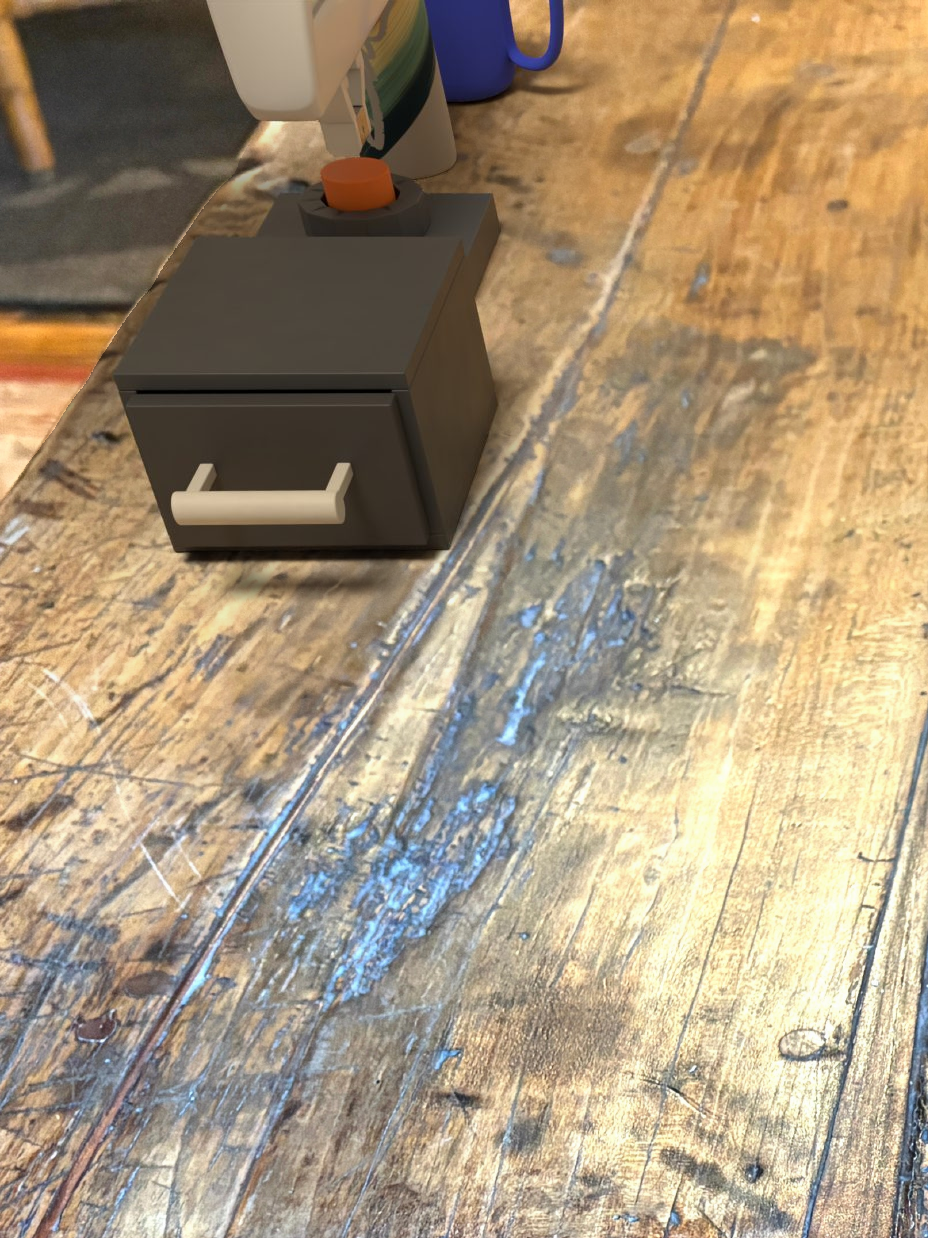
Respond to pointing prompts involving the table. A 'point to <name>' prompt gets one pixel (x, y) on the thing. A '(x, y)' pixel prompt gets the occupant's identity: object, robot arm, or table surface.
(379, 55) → the lotion bottle
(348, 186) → the button
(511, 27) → the mug
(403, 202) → the button block
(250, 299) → the cabinet
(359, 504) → the drawer
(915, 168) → the table surface
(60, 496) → the table surface
